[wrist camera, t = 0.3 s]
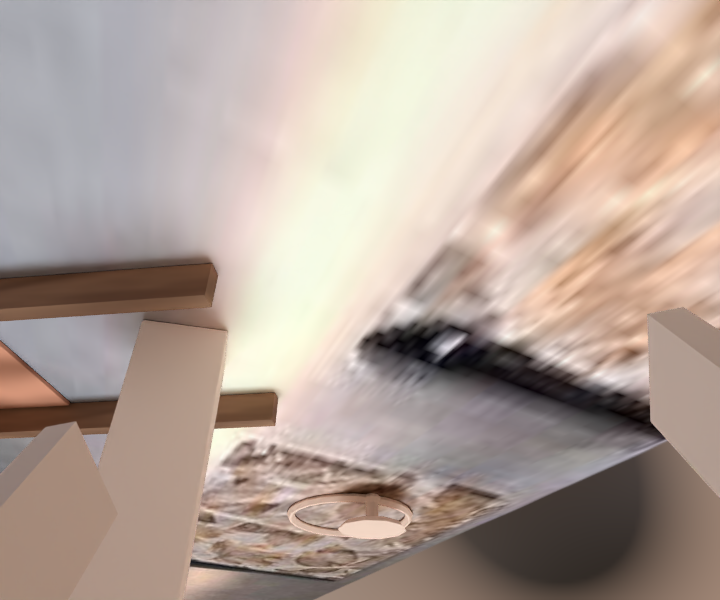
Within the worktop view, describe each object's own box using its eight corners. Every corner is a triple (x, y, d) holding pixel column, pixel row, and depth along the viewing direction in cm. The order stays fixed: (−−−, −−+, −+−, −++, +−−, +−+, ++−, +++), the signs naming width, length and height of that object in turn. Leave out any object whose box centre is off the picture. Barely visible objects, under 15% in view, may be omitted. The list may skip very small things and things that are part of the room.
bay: (-252, 297, 37) (-284, 334, 35) (211, 263, 34) (203, 301, 32) (-60, 416, 51) (-76, 447, 49) (277, 399, 48) (274, 431, 46)
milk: (228, 329, 40) (162, 708, 26) (224, 371, 44) (166, 711, 31) (140, 318, 38) (23, 709, 25) (145, 362, 43) (50, 712, 30)
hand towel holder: (270, 554, 76) (314, 511, 60) (273, 521, 78) (317, 472, 63) (383, 565, 80) (451, 528, 65) (383, 533, 83) (447, 491, 68)
